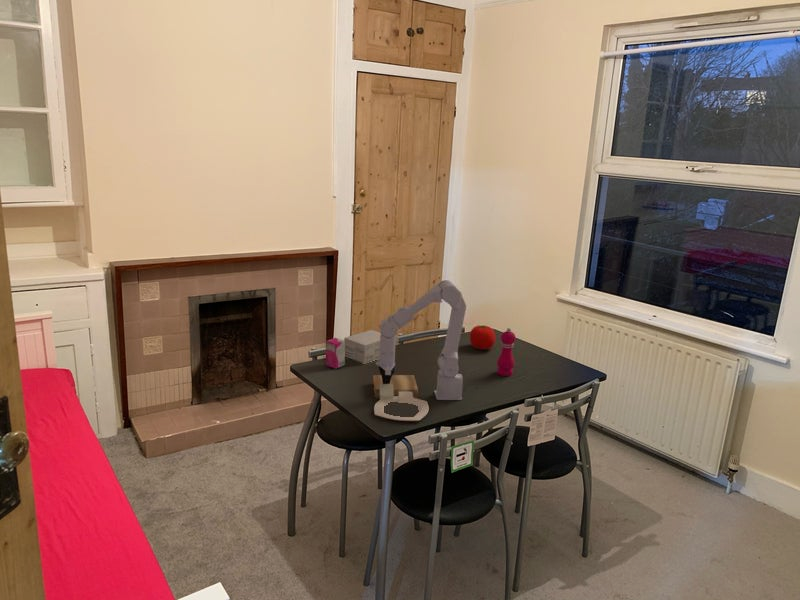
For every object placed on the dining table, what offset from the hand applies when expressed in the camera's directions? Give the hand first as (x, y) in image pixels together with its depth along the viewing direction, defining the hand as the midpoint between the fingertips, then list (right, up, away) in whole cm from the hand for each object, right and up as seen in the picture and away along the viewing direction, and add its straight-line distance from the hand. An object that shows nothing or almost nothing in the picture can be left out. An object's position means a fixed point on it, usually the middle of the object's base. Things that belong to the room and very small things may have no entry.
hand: (385, 385), depth 222 cm
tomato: (+43, +9, +59) cm, 74 cm away
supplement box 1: (-22, +4, +29) cm, 37 cm away
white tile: (+7, -5, -4) cm, 10 cm away
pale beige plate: (+6, -8, -9) cm, 14 cm away
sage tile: (0, -2, -2) cm, 3 cm away
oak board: (+3, -3, +7) cm, 9 cm away
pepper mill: (+49, +1, +30) cm, 58 cm away
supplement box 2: (-9, +7, +42) cm, 44 cm away
